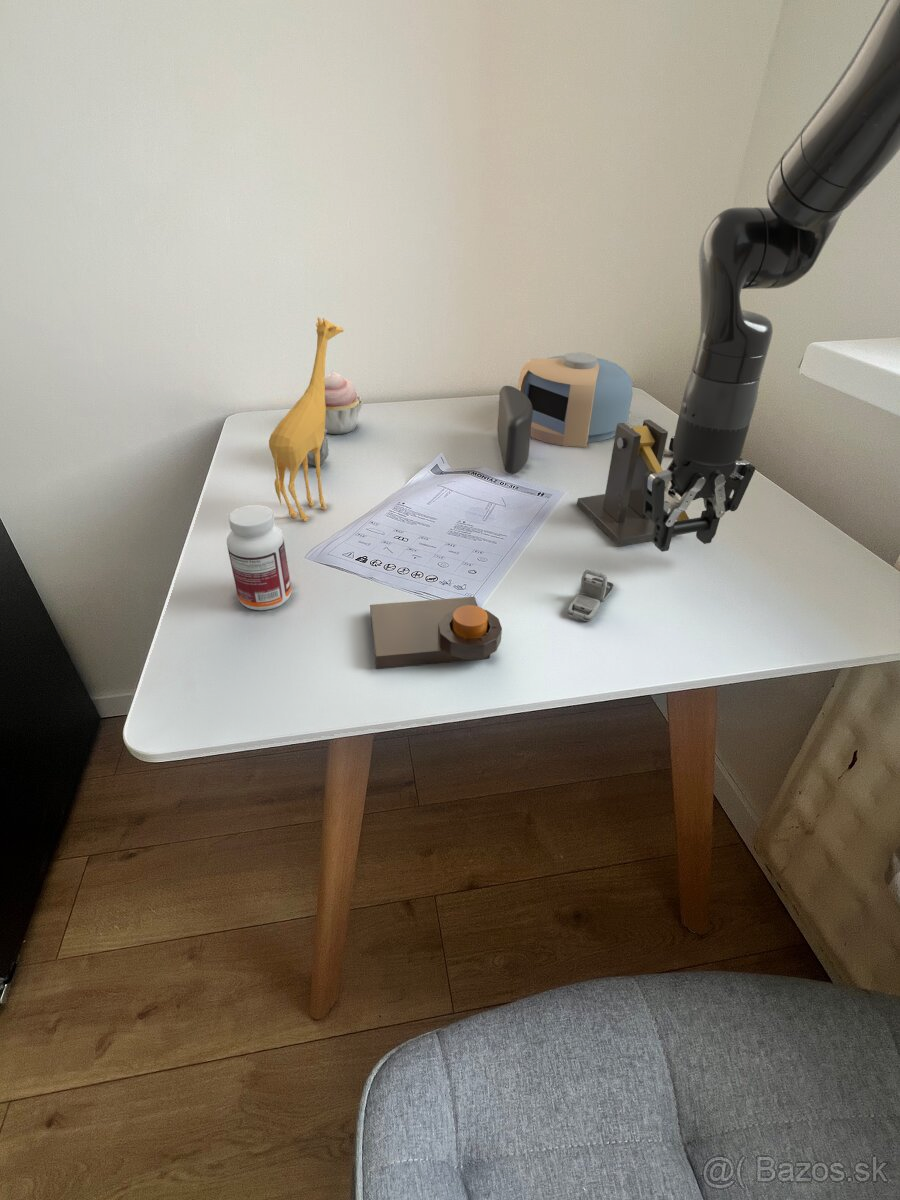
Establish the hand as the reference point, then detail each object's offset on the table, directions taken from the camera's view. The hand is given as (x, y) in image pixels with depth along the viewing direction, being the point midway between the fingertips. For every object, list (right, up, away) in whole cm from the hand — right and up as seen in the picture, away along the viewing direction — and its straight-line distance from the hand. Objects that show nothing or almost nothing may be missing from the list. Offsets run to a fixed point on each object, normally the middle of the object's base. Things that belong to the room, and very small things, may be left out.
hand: (682, 543), depth 87 cm
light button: (-27, -10, -14) cm, 32 cm away
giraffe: (-48, +6, +14) cm, 50 cm away
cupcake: (-49, +23, +37) cm, 65 cm away
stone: (-51, +15, +25) cm, 58 cm away
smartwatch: (+9, +17, +30) cm, 36 cm away
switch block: (-31, -12, -11) cm, 34 cm away
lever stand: (-4, +4, +12) cm, 13 cm away
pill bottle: (-51, -7, -5) cm, 51 cm away
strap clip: (-12, -7, -4) cm, 15 cm away
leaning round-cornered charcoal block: (-20, +17, +28) cm, 38 cm away
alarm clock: (-7, +25, +40) cm, 48 cm away
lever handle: (-2, +8, +3) cm, 8 cm away
